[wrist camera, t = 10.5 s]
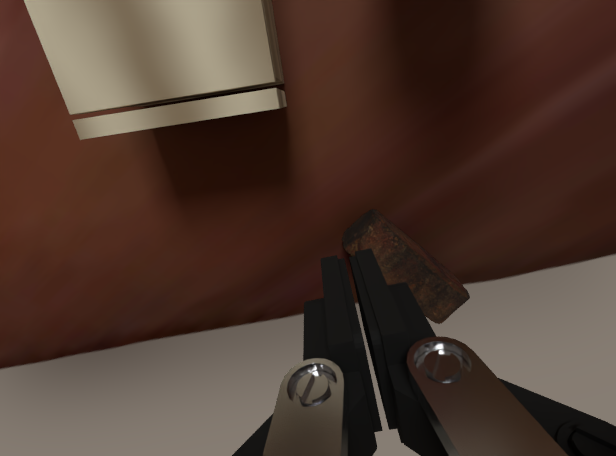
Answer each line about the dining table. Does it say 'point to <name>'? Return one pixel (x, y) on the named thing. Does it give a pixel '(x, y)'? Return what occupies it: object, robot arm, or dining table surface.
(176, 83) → the lid
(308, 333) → the robot arm
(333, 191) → the dining table surface
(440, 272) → the brick
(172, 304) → the dining table surface
